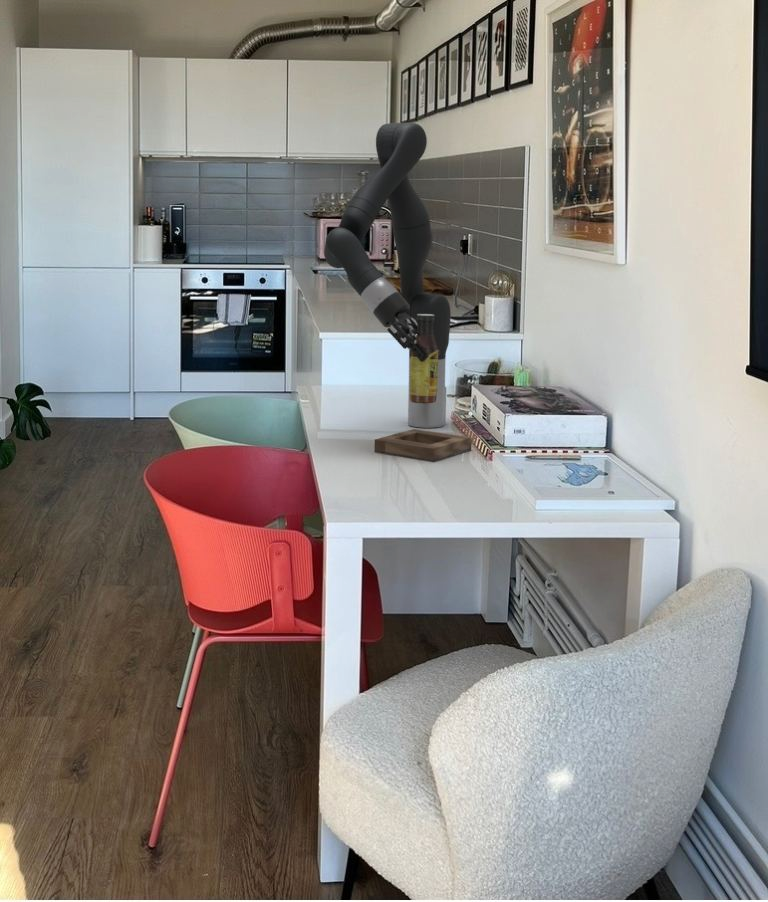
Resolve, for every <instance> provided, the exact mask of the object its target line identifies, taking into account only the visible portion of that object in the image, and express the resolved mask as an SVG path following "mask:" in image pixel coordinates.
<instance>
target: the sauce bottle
mask: <svg viewBox="0 0 768 902" xmlns="http://www.w3.org/2000/svg"><path fill="white" fill-rule="evenodd" d="M434 321H435V315H432V314H417V334H416V335H417V336H416V335H415V336H416V337H415V338H416V339H417V341H418V343H417V344H420V345H421V346H422V348H423V349H424V350H425V351H426V352H427V354H428V355H429V357H428V358H427V359H426V360H425V361H423V362H421V361H420V360H419V359H418V358H417V356H416V355H415V354H414V353H413V352H412V350H411V364H410V401H411V402H414V403H423V404H426V403H434V402H436V396H437V381H438V347H437V344H436V341H435V337H434Z"/></svg>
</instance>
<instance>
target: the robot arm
mask: <svg viewBox="0 0 768 902" xmlns="http://www.w3.org/2000/svg"><path fill="white" fill-rule="evenodd" d="M427 145H428V138H427V134H426V131H425V129H424V128H423V127H422V125H421V124H418V123H415V122H389V123H385V124H382V125H381V126H380V127H379V128H378V130H377V132H376V138H375V149H376V153H377V159H378V163H379V166H380V167H379V168H380V169H379V170H378V171H377V172H376V173H375V174H374V175H372V176H371V177H370V178H369V179H368V180H366V181H365V182H364V183H363V184H362V185H361V186H360V187H359V189H357V190H356V192H355V193H354V194H353V196H352V197H351V199H350V201H349V203H348V204H347V206H346V208H345V209H344V211H343V213H342V216H341V219H340V223H339V225H338V226H337V227H335V228H334V229H331V230H330V231H329V233H328V234H327V235H326V237H325V242H324V243H325V244H324V249H323V250H324V251H323V255H324V258H325V261H326V263H327V264H328V265H329V266H330V267H331V268H335V269H343V270H344V271H345V273H346V276H347V280H348V283H349V284H350V286H351V287H352V288H353V289H354V290H355V292H356V293H357V294H358V295H359V297H360V298H361V299H362V301H363V303H364V304H365V306H366V307H367V308H368V310H369V311H371V313H372V314H373V315H374V316H375V318H376V319H377V320H378V321H379V323H381V324H382V327H384V328H387V332H388V333H389V334H390V335H391V336H392V338H394V339H395V340H396V342H397V343H398V344H399V345H400V346H401V347H402V348H403V349H404V350H406V349H408V350H409V351H408V394H407V395H408V397H407V399H408V400H407V401H408V402H407V405H408V406H407V424H408V426H410V427H414V428H424V429H427V428H440V427H443V426H444V425H445V424H446V418H447V417H446V415H447V387H446V360H447V359H446V357H447V354H446V353H447V349H448V348H449V344H450V331H451V330H450V329H451V318H452V317H451V315H452V314H451V313H452V312H451V306H450V305H451V304H450V302H449V301H448V299H447V297H446V296H444V295H442V294H435V293H426V292H425V288H424V281H423V280H424V277H423V271H424V267H425V264H426V261H427V259H428V257H429V254H430V251H431V247H432V242H433V235H432V227H431V221H430V214H429V212H428V209H427V208H426V206H425V203H424V202H423V200H422V199H421V198H420V196H419V195H418V193H417V192H416V191H415V189H414V187H413V186H412V183H411V181H410V179H409V176H408V174H409V173H410V172H411V170H413V168H414V167H415V166H416V165H417V164H418V162H419V161H420V160H421V158H422V157H423V155H424V154H425V152H426V149H427ZM387 200H388V206H389V212H390V219H391V226H392V232H393V239H394V243H395V244H394V245H395V249H396V250H395V251H396V254H397V255H396V256H397V263H398V270H399V277H400V278H399V279H400V280H399V281H400V292H399V291H398V290H397V289H396V287H395V286H394V285H393V284H392V283H391V282H390V281H389V280H388V279H387V278H386V277H385V276H384V275H383V274H382V272H381V271H380V270H379V269H378V267H376V265H375V264H374V263H373V262H372V260H371V259H370V256H369V255H368V253H367V251H366V250H365V248H364V246H363V245H362V243H363V240H364V238H365V236H366V234H367V233H368V231H369V230H370V228H371V227H372V225H373V223H374V222H375V220H376V218H377V217H378V215H379V213H380V212H381V210H382V208H383V206H384V205H385V204H386V202H387ZM417 314H432V315H435V321H434V337H435V341H436V344H437V347H438V381H437V396H436V402H434V403H426V404H423V403H414V402H411V401H410V364H411V350H412V352H413V353H414V354H415V355H416V356H417V358H418V359H419V360H420V361H421V362H423V361H425V360H426V359H427V358H428V357H429V355H428V354H427V352H426V351H425V350H424V349H423V348H422V346H421V345H420V344H417V343H418V341H417V339H416V338H415V337H416V336H417Z"/></svg>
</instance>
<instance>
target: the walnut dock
mask: <svg viewBox="0 0 768 902" xmlns="http://www.w3.org/2000/svg"><path fill="white" fill-rule="evenodd" d="M472 438H473V437H472V436H465V435H458V434H452V433H444V432H438V431H431V430H425V429H423V430H422V429H418V428H417V429H416V428H411V429H409V430H405V431H401V432H397V433H393V434H389V435H386V436H383V437H379V438H376V439H374V448H373V449H374V453H376V454H383V455H387V456H394V457H402V458H406V459H413V460H419V461H424V462H425V461H426V462H432V463H435V462H438V461H441V460H444V459H447V458H450V457H454V456H457V455H460V454H463V453H466V452H469V451H472V440H473V439H472Z"/></svg>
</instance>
